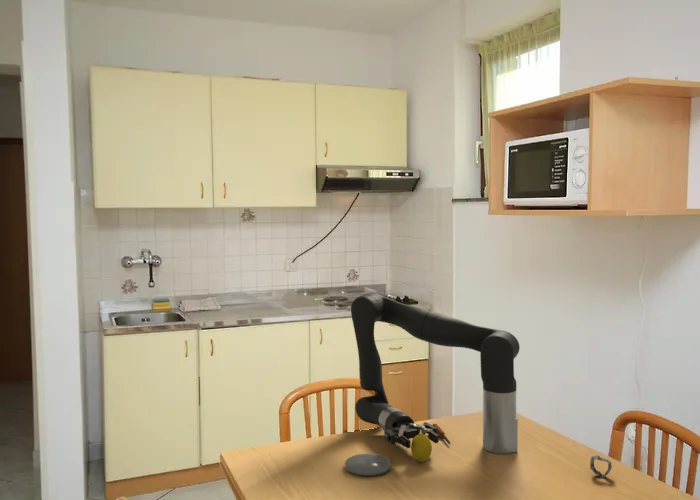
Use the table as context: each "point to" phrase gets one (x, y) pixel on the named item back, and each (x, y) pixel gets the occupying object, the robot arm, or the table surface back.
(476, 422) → the table surface
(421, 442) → the lemon
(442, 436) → the kitchen knife
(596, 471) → the wristwatch
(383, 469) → the dish
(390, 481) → the table surface
